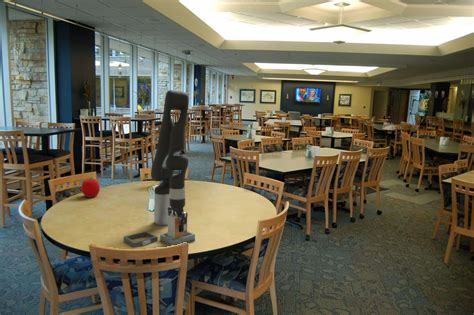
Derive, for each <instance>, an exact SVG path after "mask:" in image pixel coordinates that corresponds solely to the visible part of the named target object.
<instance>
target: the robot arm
mask: <svg viewBox="0 0 474 315" xmlns="http://www.w3.org/2000/svg"><path fill="white" fill-rule="evenodd" d="M189 102H190V100H189V94H188V93H187V92H186V91H179V90H173V89H172V90H171V89H169V90H167V92H166V93H165V97H164V106H163V113H162V120H161V126H160V130H159V134H158V140H157V146H156V151H155V155H154V157H153V158H154V159H153V162H152V165H151V169H150V176H151V180H152V181H154V182H159V181H162V183H161V184H160V185H159V184H158V185H157V186H155V187H154V191H153V192H154V205H153V206H154V207H153V209H154V210H153V212H154V215H153V216H154V217H153V218H154V220H153V221H154V223H155V225H158V226H168V216H170V215H175V216H176V217H177V218H178V220H179V232H183V231H184V224H187V225H188V216H189V215H188V214H189V213H188V212H185V210H184V208H185V206H186V187H185V186H186V184H185V183H186V182H185V181H186V175H187V170H188V167H189V158H188V157H187V156H186V155H175V154H176V153H179V152H183V151H184V150H185V147H186V146H185V145H186V136H185V135H186V128H187V127H186V125H187V118H188V113H189V112H188V111H189ZM172 110H175V111H180V115H179V117H178V119H177V121H176V123H174V122H173V119H172V118H173V117H172V114H171V112H172ZM167 156H168V157H167ZM166 157H167V160H166V163H164V164H163V162H164V160H165V158H166ZM174 170H180V171H181V172H180V173H179V174H176V175H173V171H174ZM181 216H182V218H179V217H181ZM180 220H181V221H180ZM184 220H185V222H184Z"/></svg>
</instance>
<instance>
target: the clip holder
mask: <svg viewBox="0 0 474 315" xmlns="http://www.w3.org/2000/svg"><path fill="white" fill-rule="evenodd" d="M142 237H148V238H144V239H142V240H141V239H140V240H137V241H135V240H134V239H138V238H142ZM123 241H124V242H125V243H127V244H128V245H130V246H131V247H133V248H137V247H140V246H145V245H148V244H151V243H154V242H158V236H157V235H155V234H154V233H152V232H150V231H149V230H144V231H141V232H136V233H133V234H132V233H131V234H128V235H126V236H123Z"/></svg>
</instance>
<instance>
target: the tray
mask: <svg viewBox="0 0 474 315" xmlns="http://www.w3.org/2000/svg"><path fill="white" fill-rule="evenodd" d="M159 240H160V241H161V242H163V243H165V244H166V245H168V246H170V247H171V245H177V244H180V243H183V242H188V243H190V242H193V241H194V242H195V241H196V234H195V233H193V232H191V231H189V230H187V235H186V236H183V237H180V238H177V239H173V238H170V237H168V231H167V232H163V233H160V234H159Z"/></svg>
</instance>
